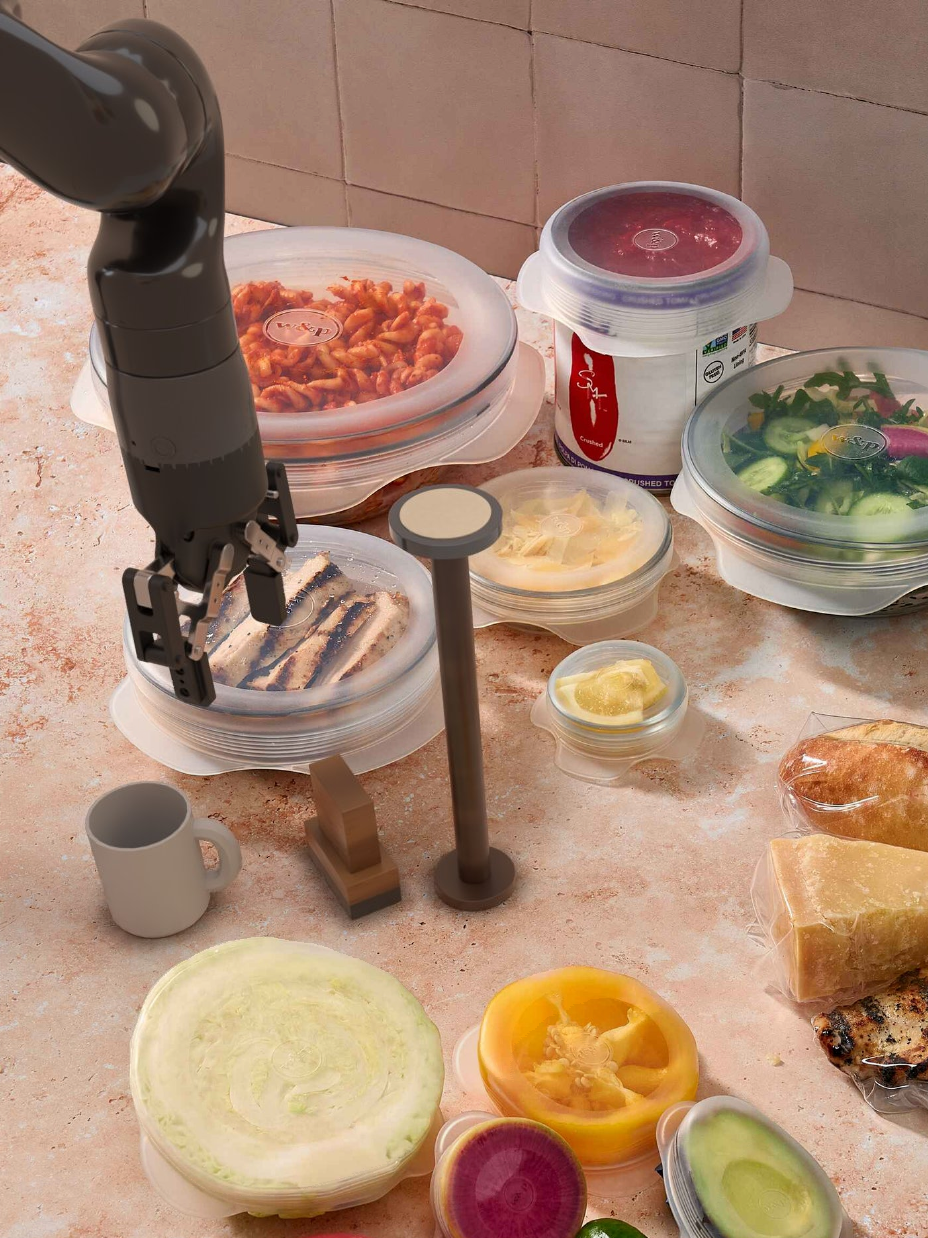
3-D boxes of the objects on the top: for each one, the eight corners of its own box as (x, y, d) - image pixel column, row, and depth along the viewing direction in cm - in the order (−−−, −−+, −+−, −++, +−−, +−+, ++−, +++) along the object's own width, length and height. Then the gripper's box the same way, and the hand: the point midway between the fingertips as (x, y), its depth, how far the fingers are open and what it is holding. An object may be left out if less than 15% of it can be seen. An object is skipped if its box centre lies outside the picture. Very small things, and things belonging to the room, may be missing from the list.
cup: (116, 874, 124) (90, 784, 118) (252, 863, 125) (234, 774, 119) (105, 945, 119) (78, 855, 113) (248, 933, 120) (229, 843, 114)
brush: (402, 900, 122) (390, 805, 116) (351, 921, 121) (337, 825, 114) (357, 836, 127) (343, 741, 121) (308, 854, 126) (292, 759, 119)
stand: (457, 922, 121) (423, 565, 100) (421, 872, 125) (381, 518, 104) (530, 892, 123) (512, 537, 102) (492, 843, 127) (468, 491, 106)
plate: (419, 572, 99) (418, 556, 99) (371, 516, 104) (369, 501, 103) (523, 539, 102) (522, 523, 101) (471, 486, 106) (470, 471, 106)
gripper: (196, 353, 97) (241, 584, 108) (51, 475, 87) (116, 716, 98) (311, 375, 95) (344, 608, 106) (176, 502, 85) (228, 745, 96)
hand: (235, 660), depth 102 cm, fingers open, 8 cm apart
